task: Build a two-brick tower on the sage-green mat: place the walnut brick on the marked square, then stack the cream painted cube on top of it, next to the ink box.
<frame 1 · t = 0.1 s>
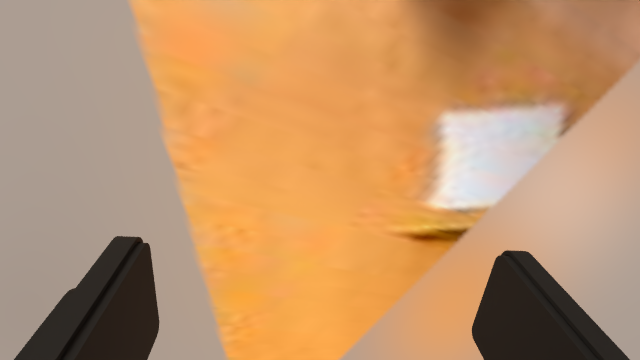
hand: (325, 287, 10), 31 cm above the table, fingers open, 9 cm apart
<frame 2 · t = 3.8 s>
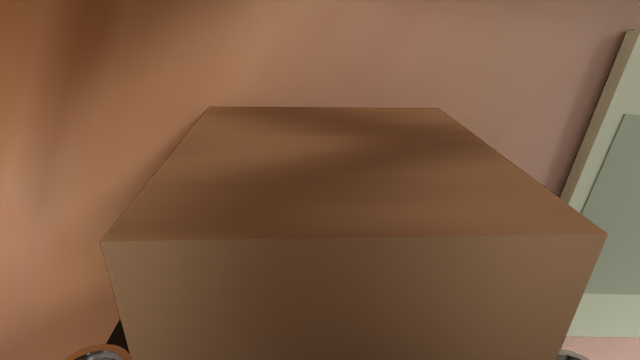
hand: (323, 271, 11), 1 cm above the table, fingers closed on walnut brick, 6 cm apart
walnut brick: (321, 250, 12), on the table, touching gripper
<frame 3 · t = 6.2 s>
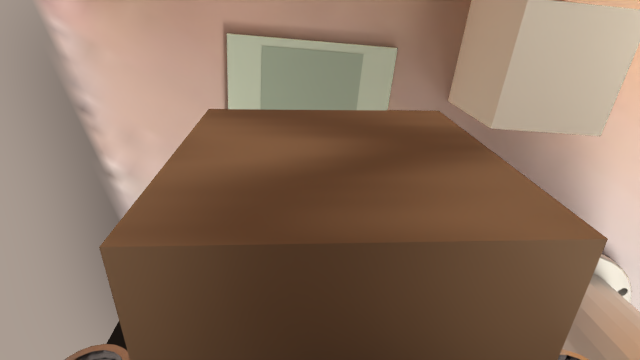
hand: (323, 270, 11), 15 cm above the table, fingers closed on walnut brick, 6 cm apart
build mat: (307, 122, 24), on the table
walnut brick: (321, 252, 12), point 14 cm above the table, touching gripper
cream brick: (504, 56, 24), on the table
when the fingers open (2 cm above the table, at t = 8.9 s): walnut brick stays where it is, resting on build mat.
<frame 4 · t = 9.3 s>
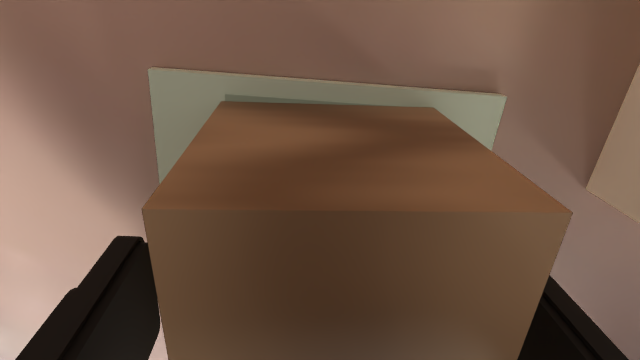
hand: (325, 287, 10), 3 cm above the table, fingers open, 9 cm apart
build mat: (319, 229, 13), on the table
walnut brick: (322, 238, 13), resting on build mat
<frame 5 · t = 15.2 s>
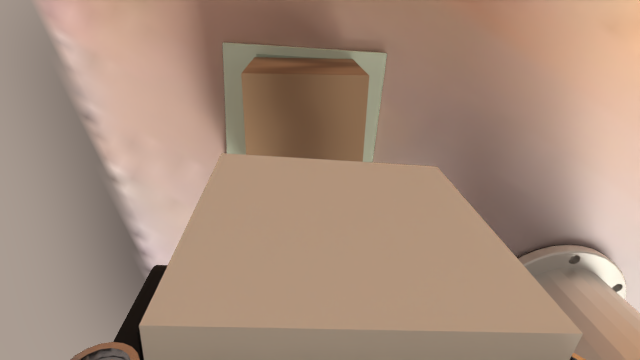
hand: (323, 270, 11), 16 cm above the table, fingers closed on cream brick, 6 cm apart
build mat: (302, 125, 25), on the table
walnut brick: (303, 128, 25), resting on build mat
cream brick: (322, 249, 12), point 15 cm above the table, touching gripper
when the fingers open (8 cm above the table, at t = 17.5 s): cream brick stays where it is, resting on walnut brick.
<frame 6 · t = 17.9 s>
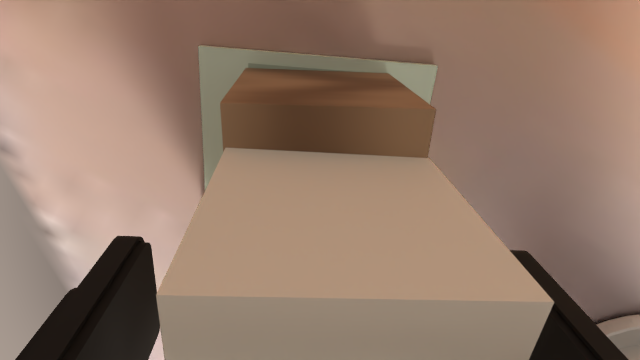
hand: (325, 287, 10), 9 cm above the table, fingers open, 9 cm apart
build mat: (311, 163, 18), on the table
walnut brick: (313, 168, 18), resting on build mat, touching cream brick
cream brick: (321, 239, 12), point 6 cm above the table, touching walnut brick
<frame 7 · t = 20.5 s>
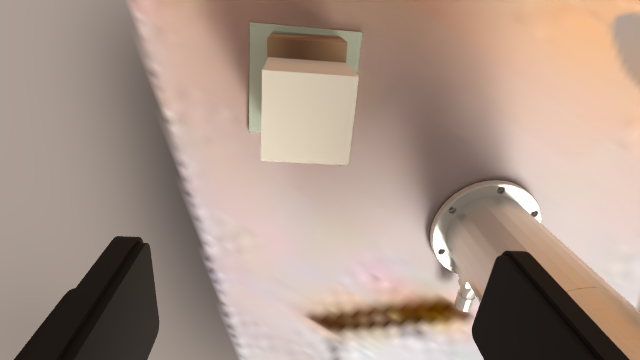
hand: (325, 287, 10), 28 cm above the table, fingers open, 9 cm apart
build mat: (303, 83, 36), on the table
walnut brick: (304, 85, 35), resting on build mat, touching cream brick
cream brick: (305, 99, 30), point 6 cm above the table, touching walnut brick
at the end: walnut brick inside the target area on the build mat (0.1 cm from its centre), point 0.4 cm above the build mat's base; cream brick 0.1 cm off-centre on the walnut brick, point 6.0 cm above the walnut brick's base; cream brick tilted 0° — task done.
